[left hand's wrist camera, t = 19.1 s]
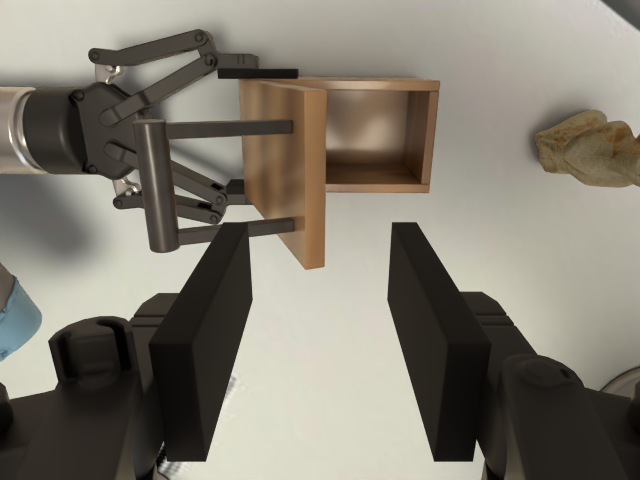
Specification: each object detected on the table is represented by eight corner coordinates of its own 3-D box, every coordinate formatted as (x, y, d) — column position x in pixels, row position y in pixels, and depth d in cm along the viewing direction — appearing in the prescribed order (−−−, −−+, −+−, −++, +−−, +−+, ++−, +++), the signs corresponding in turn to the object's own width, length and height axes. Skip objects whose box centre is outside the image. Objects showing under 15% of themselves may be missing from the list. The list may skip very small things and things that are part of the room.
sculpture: (600, 154, 47) (720, 193, 33) (531, 176, 48) (620, 222, 34) (594, 99, 45) (720, 115, 31) (522, 122, 46) (613, 148, 32)
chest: (416, 77, 44) (440, 80, 35) (408, 169, 47) (429, 193, 39) (261, 76, 44) (246, 79, 35) (264, 168, 47) (252, 191, 39)
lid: (327, 89, 21) (126, 92, 18) (324, 267, 24) (154, 293, 22) (252, 79, 35) (132, 79, 32) (257, 193, 38) (149, 202, 35)
